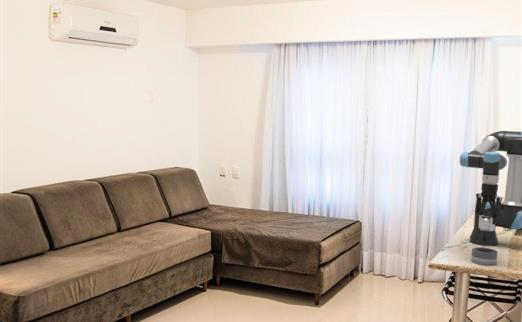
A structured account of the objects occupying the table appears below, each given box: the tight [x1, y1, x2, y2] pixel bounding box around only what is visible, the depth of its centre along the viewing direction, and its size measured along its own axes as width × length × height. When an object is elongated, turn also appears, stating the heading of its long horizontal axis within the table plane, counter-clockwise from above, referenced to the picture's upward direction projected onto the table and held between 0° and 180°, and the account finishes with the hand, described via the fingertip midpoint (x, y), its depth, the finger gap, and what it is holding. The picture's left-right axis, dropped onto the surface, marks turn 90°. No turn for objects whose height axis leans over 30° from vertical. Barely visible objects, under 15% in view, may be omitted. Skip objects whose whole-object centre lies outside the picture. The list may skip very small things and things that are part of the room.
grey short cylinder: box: [470, 246, 498, 267], centre depth 292 cm, size 12×12×6 cm
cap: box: [480, 216, 491, 231], centre depth 290 cm, size 6×6×6 cm
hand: (486, 229), depth 291 cm, fingers closed on cap, 6 cm apart
